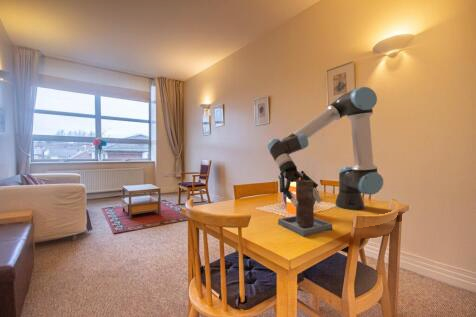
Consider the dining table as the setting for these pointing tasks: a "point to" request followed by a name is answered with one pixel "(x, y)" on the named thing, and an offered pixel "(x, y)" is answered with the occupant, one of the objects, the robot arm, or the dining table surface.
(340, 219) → the dining table surface
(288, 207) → the orange juice
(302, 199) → the candle
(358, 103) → the robot arm
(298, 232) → the tray
